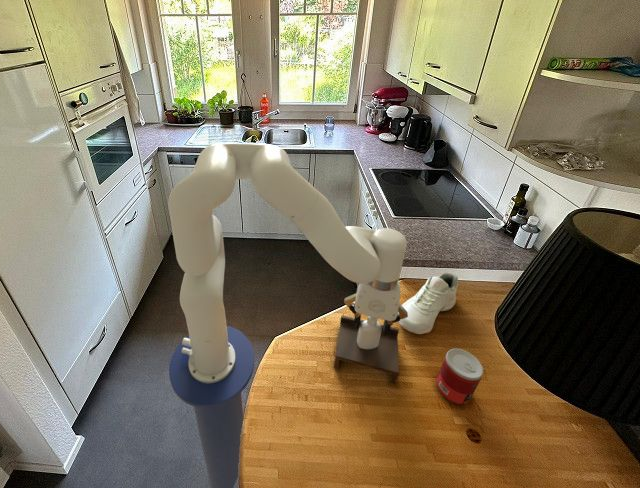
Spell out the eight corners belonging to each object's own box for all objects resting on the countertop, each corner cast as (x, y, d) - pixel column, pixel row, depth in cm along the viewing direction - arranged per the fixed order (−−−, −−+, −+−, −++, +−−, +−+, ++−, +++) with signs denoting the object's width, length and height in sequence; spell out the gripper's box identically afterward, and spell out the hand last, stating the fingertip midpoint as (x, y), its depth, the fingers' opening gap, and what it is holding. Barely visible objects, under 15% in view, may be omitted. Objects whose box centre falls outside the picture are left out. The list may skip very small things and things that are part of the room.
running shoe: (385, 324, 100) (393, 293, 94) (428, 283, 116) (437, 253, 109) (417, 348, 93) (428, 315, 87) (458, 300, 109) (470, 270, 102)
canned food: (469, 411, 78) (483, 385, 73) (434, 394, 82) (444, 368, 76) (470, 384, 84) (483, 357, 79) (437, 369, 87) (447, 343, 82)
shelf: (333, 367, 88) (336, 350, 85) (339, 331, 98) (341, 315, 95) (395, 384, 84) (400, 368, 81) (394, 345, 94) (398, 328, 91)
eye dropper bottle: (358, 334, 92) (364, 304, 86) (378, 341, 89) (386, 311, 84) (355, 346, 88) (360, 316, 82) (376, 354, 86) (383, 324, 80)
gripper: (343, 280, 76) (336, 331, 85) (421, 296, 72) (406, 348, 80) (346, 259, 83) (339, 309, 91) (418, 273, 78) (404, 324, 86)
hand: (371, 327), depth 85 cm, fingers open, 6 cm apart
